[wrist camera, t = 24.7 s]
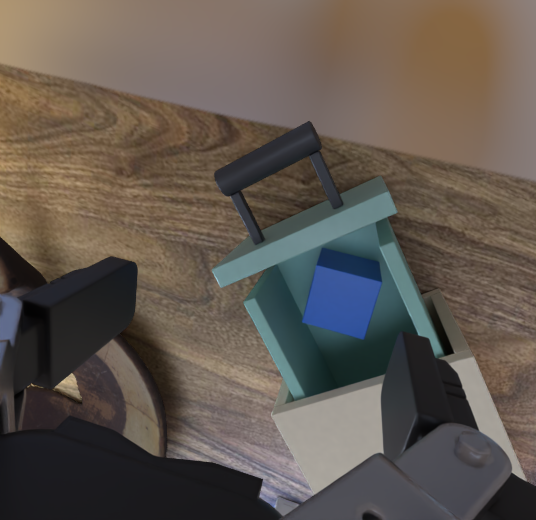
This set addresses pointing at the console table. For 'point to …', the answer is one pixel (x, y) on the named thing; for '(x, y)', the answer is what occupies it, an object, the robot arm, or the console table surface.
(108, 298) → the robot arm
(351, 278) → the blue toy cube
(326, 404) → the tan drawer cabinet
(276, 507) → the small box
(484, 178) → the console table surface
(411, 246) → the console table surface
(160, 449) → the broken bowl
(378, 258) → the teal pull-out drawer
